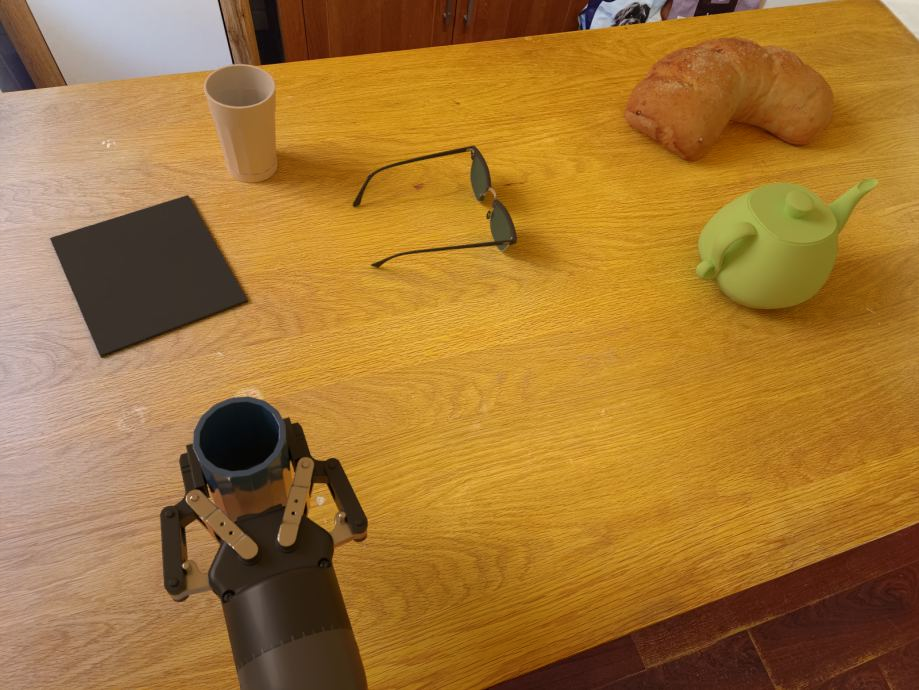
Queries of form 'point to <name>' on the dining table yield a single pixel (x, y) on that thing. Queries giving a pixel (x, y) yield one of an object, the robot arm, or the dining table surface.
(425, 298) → the dining table surface
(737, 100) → the bread
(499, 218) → the sunglasses
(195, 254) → the mat
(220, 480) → the tumbler
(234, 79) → the cup
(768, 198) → the teapot
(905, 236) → the dining table surface
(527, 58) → the dining table surface
